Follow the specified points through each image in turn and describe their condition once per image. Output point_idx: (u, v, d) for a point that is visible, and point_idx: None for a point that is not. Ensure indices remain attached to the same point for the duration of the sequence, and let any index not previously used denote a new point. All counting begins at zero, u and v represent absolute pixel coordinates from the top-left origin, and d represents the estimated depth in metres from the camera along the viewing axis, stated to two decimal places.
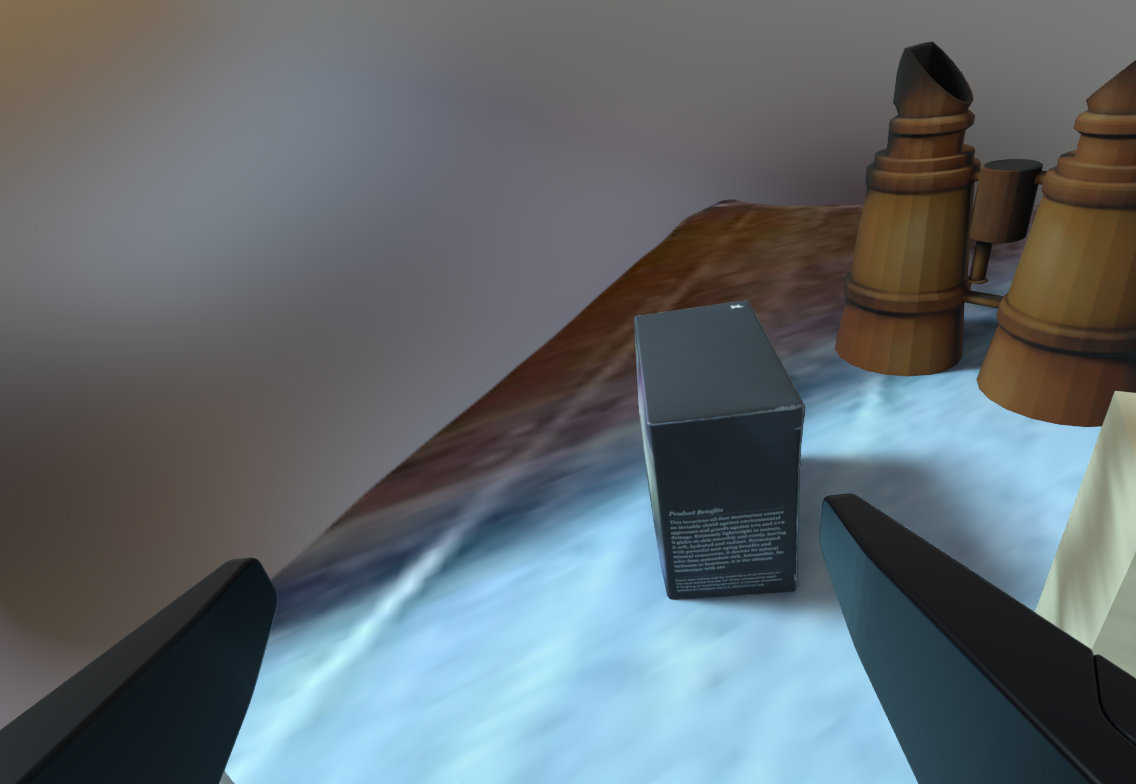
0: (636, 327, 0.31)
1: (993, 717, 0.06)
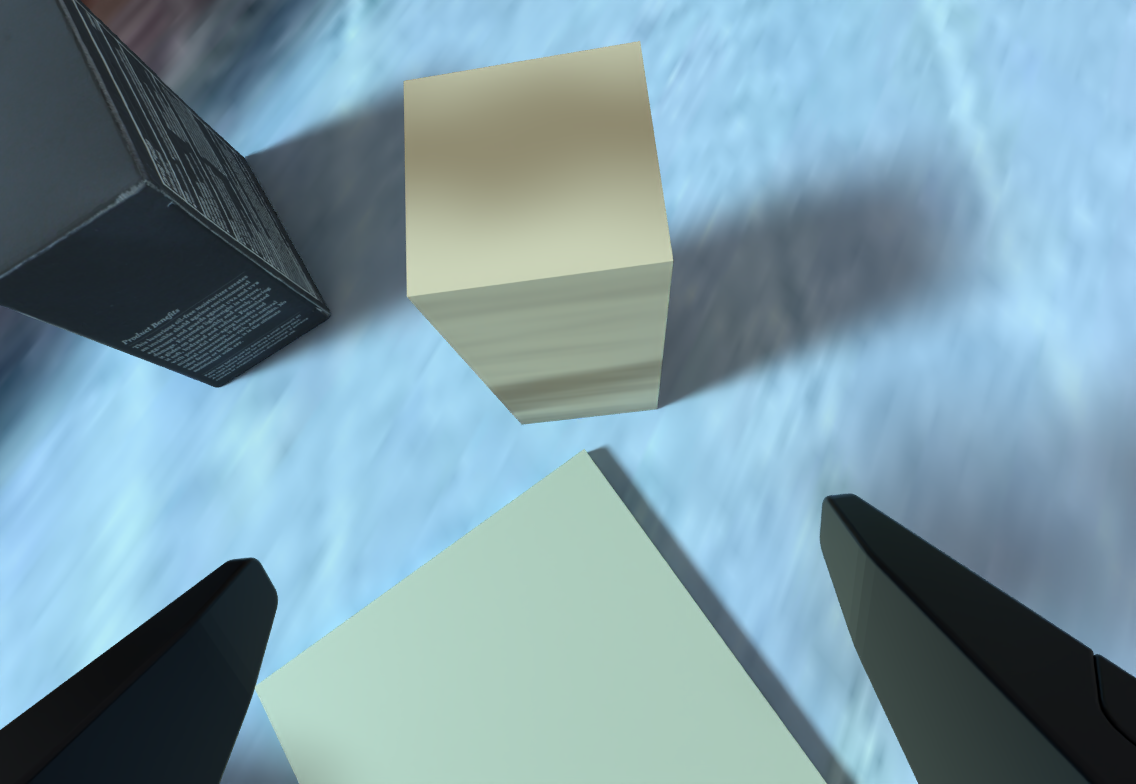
0: None
1: (993, 717, 0.06)
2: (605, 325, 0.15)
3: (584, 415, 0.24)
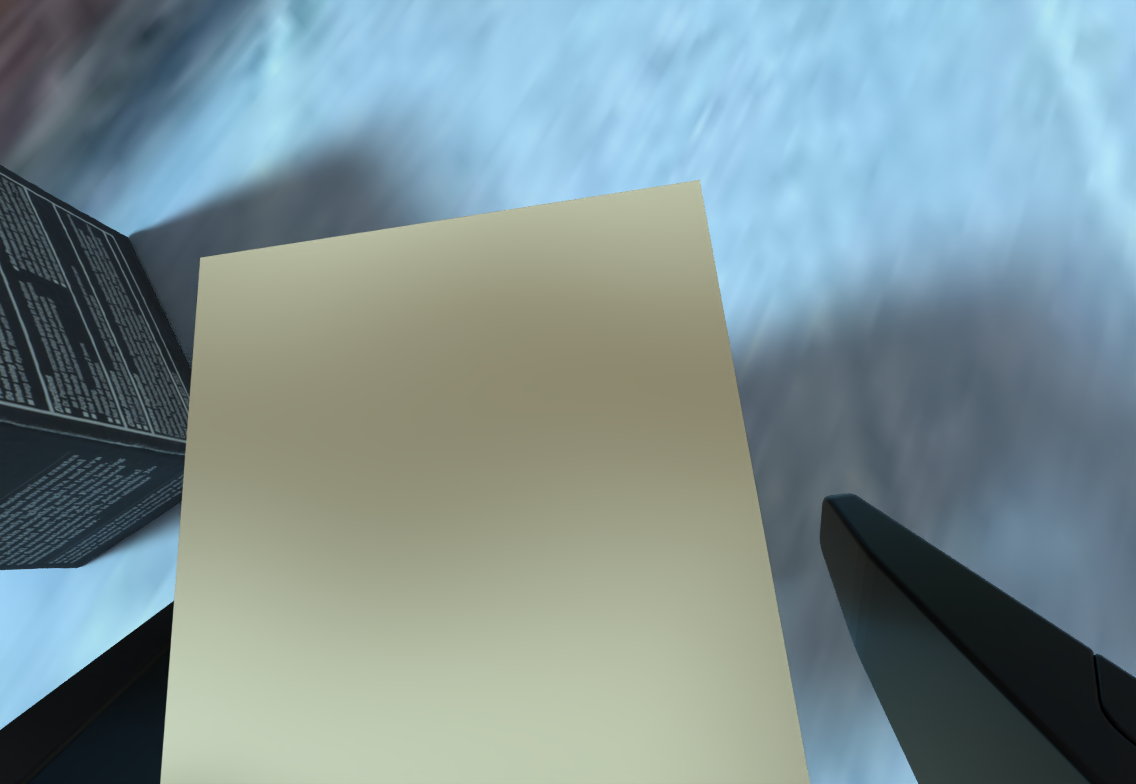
0: None
1: (993, 717, 0.06)
2: None
3: None
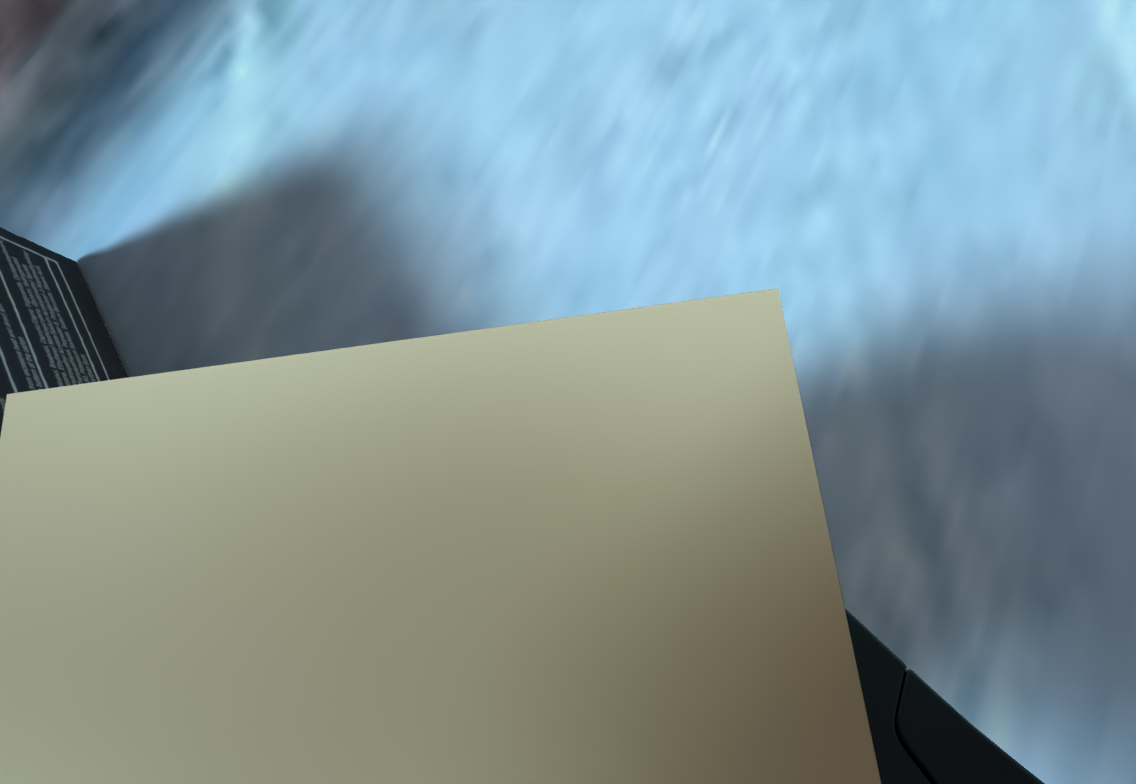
0: None
1: None
2: None
3: None
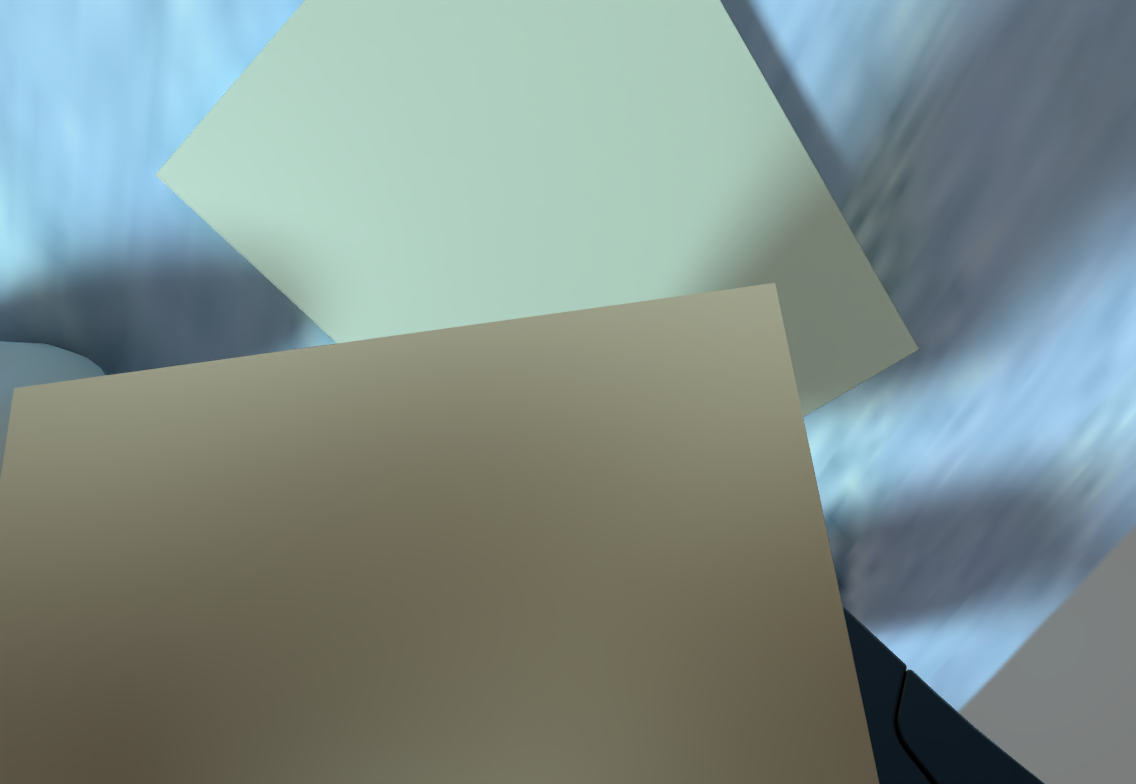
0: None
1: None
2: None
3: None
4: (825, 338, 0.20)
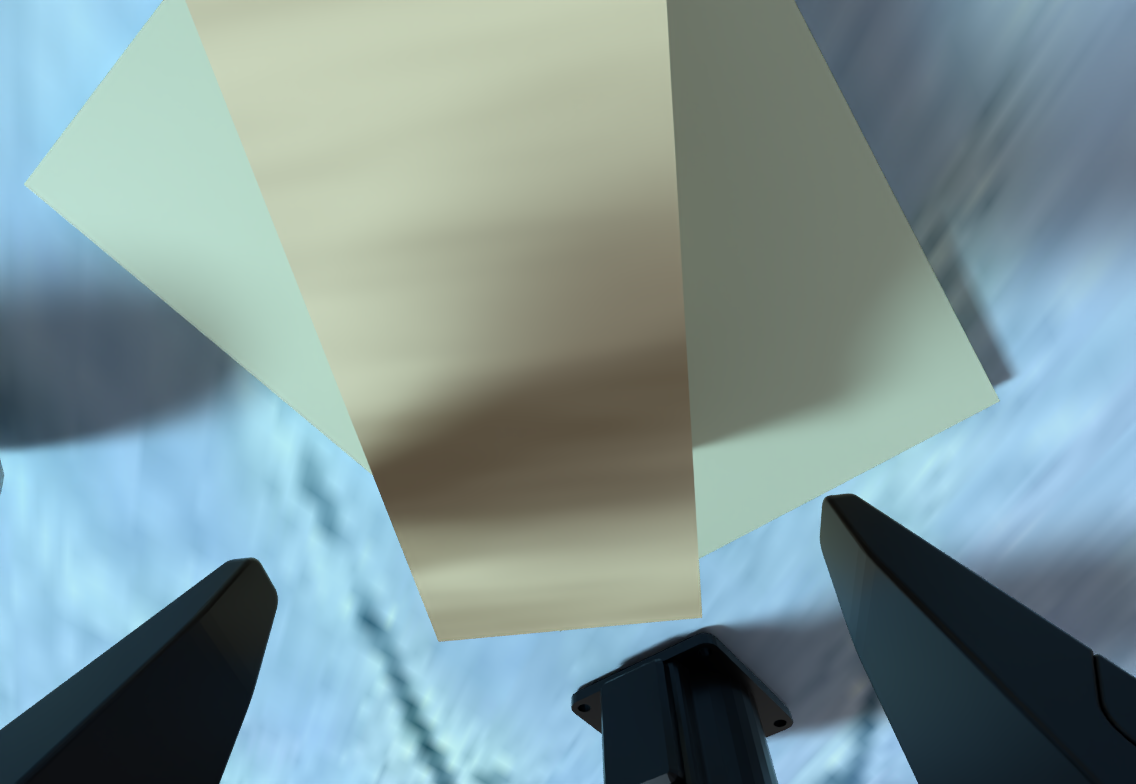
0: None
1: (993, 717, 0.06)
2: (548, 116, 0.07)
3: (558, 619, 0.12)
4: (884, 388, 0.16)
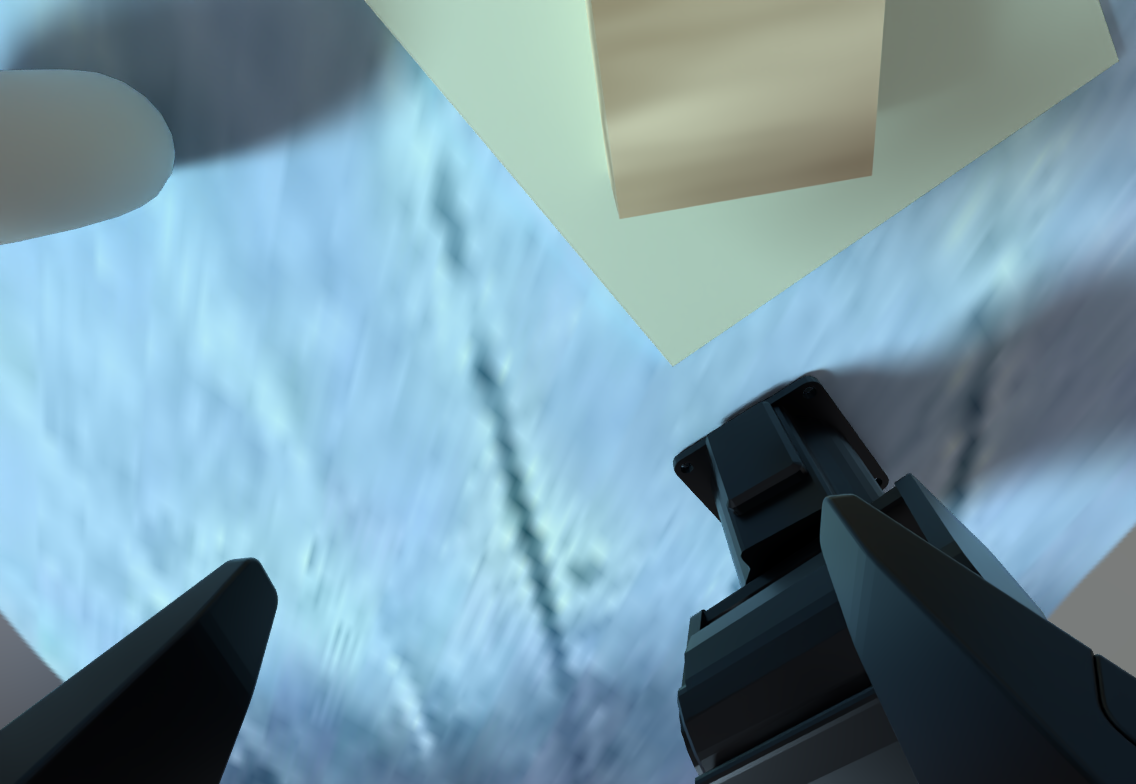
0: None
1: (993, 717, 0.06)
2: None
3: (736, 182, 0.13)
4: (1008, 48, 0.16)
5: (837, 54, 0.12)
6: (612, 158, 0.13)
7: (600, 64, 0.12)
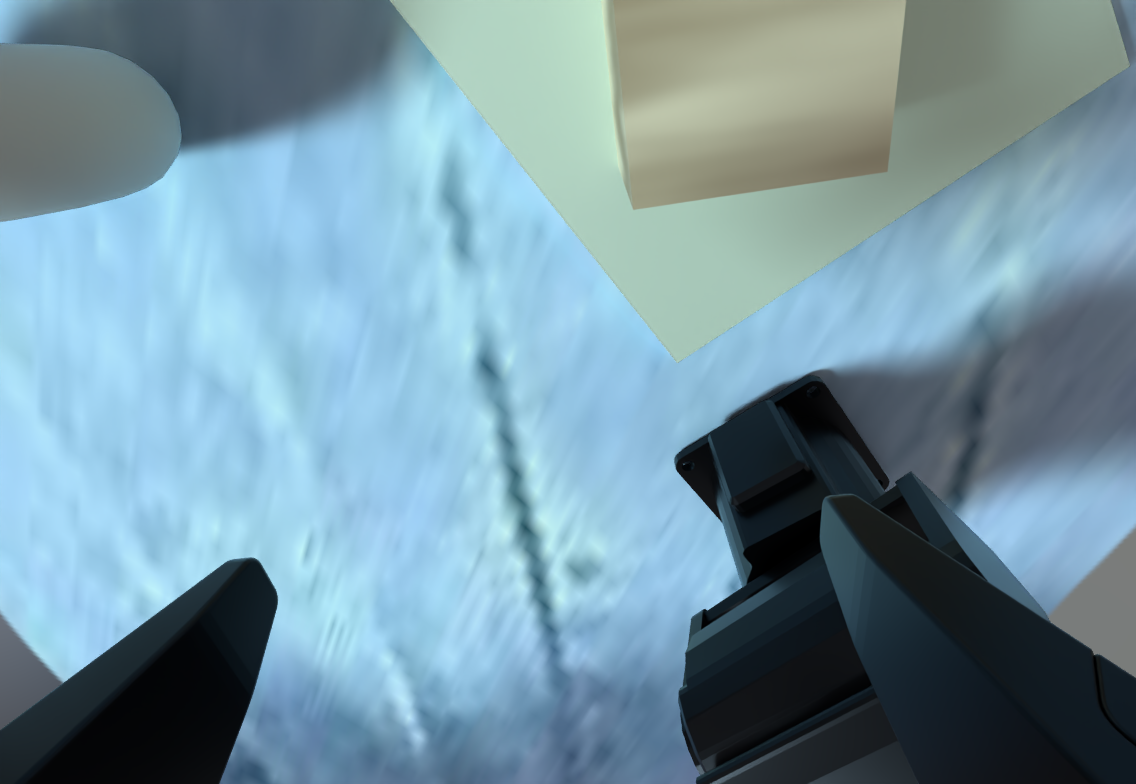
0: None
1: (993, 717, 0.06)
2: None
3: (751, 175, 0.13)
4: (1020, 50, 0.16)
5: (857, 48, 0.12)
6: (627, 148, 0.13)
7: (619, 52, 0.12)
